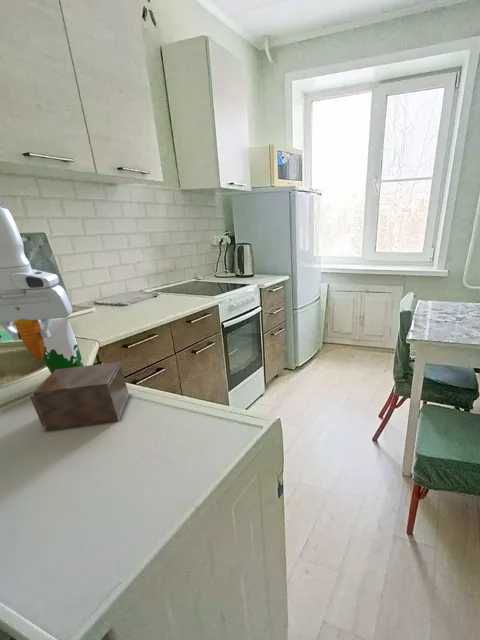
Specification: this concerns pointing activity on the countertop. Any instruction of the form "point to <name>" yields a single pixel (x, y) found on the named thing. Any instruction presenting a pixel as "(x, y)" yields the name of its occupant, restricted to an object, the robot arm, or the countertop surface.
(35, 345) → the carrot
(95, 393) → the cabinet
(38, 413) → the drawer
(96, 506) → the countertop surface
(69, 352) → the milk carton
